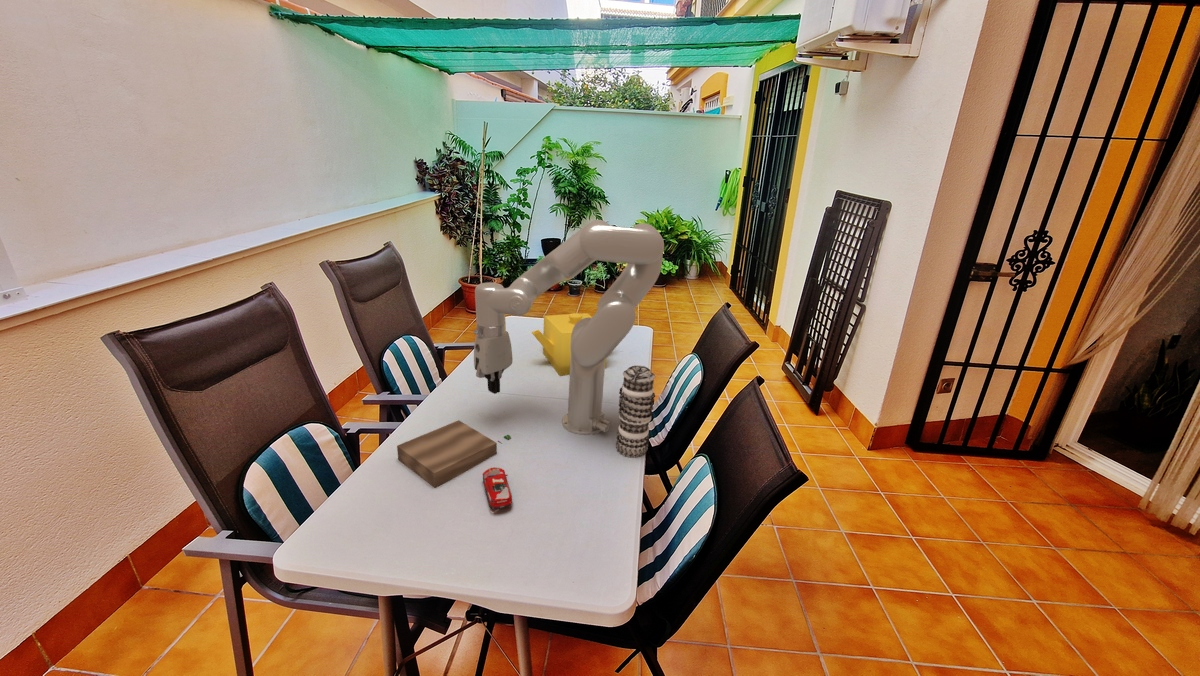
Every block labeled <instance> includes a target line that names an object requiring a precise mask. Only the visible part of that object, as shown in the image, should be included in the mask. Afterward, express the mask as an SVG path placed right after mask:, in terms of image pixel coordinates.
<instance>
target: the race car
mask: <svg viewBox="0 0 1200 676" xmlns="http://www.w3.org/2000/svg"><path fill="white" fill-rule="evenodd" d="M482 481H483V486H484V489H485V493H486V497H487V500H488V501H487V502H488V506H489V507H490V508H491V509H492V510H495V511H496V510H500V509H501V510H502V509H506V508H509V507H511V506H512V505H513V494H512V491H511V488H510V484H509V481H508V474H507V473H506V471H505V470H504V469H503V468H500V467H490V468H487V469H486V470H485V471H483V473H482Z"/></svg>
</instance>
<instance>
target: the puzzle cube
mask: <svg viewBox="0 0 1200 676" xmlns="http://www.w3.org/2000/svg"><path fill="white" fill-rule="evenodd" d="M503 438H504V439H505V440H507V441H510V440H511V439H512V436H511V435H510V434H506V435H504V436H503ZM497 442H498V443H500V444H503V443H502V442H501V441H500V440H497Z"/></svg>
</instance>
